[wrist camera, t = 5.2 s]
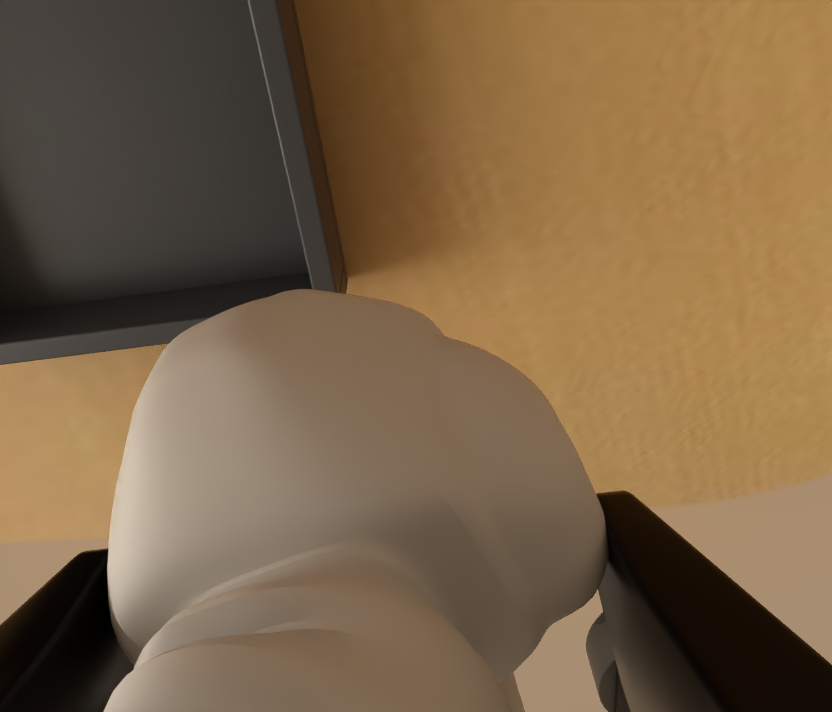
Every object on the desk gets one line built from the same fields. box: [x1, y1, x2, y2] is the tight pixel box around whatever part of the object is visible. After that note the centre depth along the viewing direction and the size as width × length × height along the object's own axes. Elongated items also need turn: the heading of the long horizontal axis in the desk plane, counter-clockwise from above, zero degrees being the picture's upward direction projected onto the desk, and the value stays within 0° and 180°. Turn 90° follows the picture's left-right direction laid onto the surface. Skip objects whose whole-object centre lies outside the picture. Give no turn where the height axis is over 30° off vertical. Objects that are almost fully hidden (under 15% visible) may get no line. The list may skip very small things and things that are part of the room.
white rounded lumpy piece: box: [103, 289, 609, 712], centre depth 6 cm, size 5×7×8 cm
